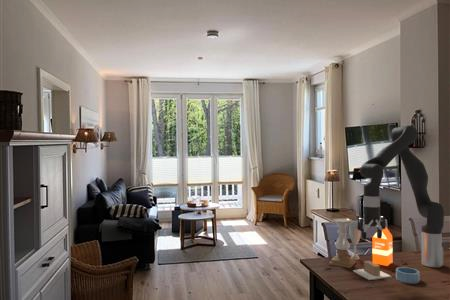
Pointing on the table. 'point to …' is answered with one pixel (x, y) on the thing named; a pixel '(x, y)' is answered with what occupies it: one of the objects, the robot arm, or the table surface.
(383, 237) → the orange juice
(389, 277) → the mat
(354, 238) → the chalice
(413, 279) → the bowl
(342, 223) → the candle holder
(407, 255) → the table surface
